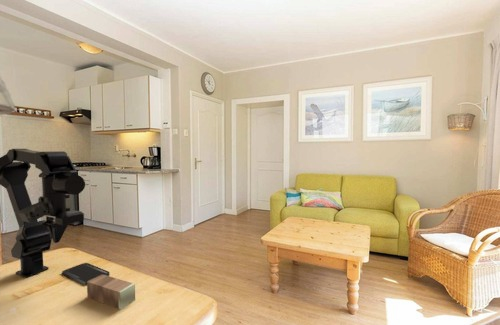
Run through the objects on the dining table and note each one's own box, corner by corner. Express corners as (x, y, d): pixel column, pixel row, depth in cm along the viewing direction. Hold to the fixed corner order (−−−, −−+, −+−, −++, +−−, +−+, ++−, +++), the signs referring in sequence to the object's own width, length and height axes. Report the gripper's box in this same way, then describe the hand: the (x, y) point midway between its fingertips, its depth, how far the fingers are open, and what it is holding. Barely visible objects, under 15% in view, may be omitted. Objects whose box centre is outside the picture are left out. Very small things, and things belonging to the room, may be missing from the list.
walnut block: (86, 281, 70) (120, 292, 65) (102, 274, 74) (134, 283, 69) (87, 297, 70) (120, 309, 65) (102, 289, 74) (135, 299, 69)
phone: (85, 262, 90) (110, 272, 83) (85, 265, 90) (111, 275, 83) (60, 271, 83) (85, 283, 76) (60, 274, 83) (85, 287, 76)
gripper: (4, 194, 74) (7, 247, 75) (42, 199, 67) (44, 257, 67) (47, 189, 84) (49, 235, 85) (84, 192, 77) (86, 243, 78)
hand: (56, 242), depth 78 cm, fingers closed
